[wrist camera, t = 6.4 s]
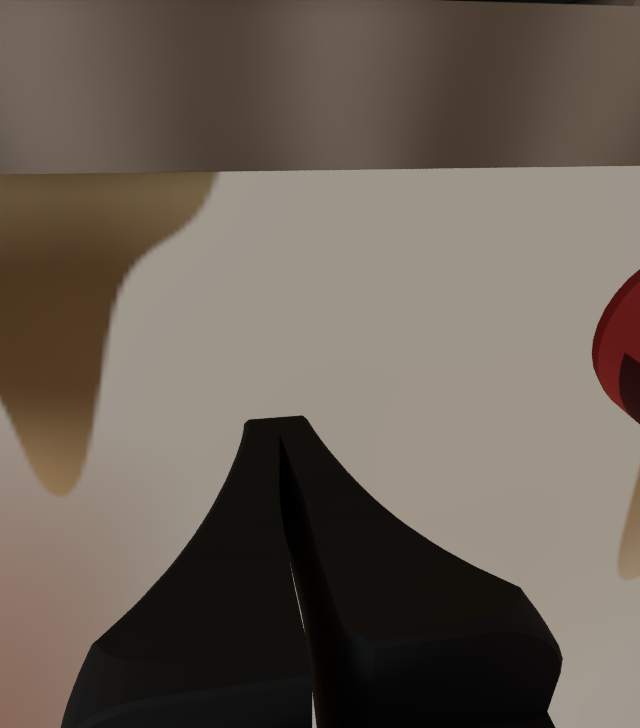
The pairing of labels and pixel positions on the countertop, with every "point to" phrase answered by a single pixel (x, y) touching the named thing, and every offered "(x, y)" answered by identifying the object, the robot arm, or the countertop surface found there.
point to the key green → (522, 1)
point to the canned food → (620, 348)
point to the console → (316, 85)
